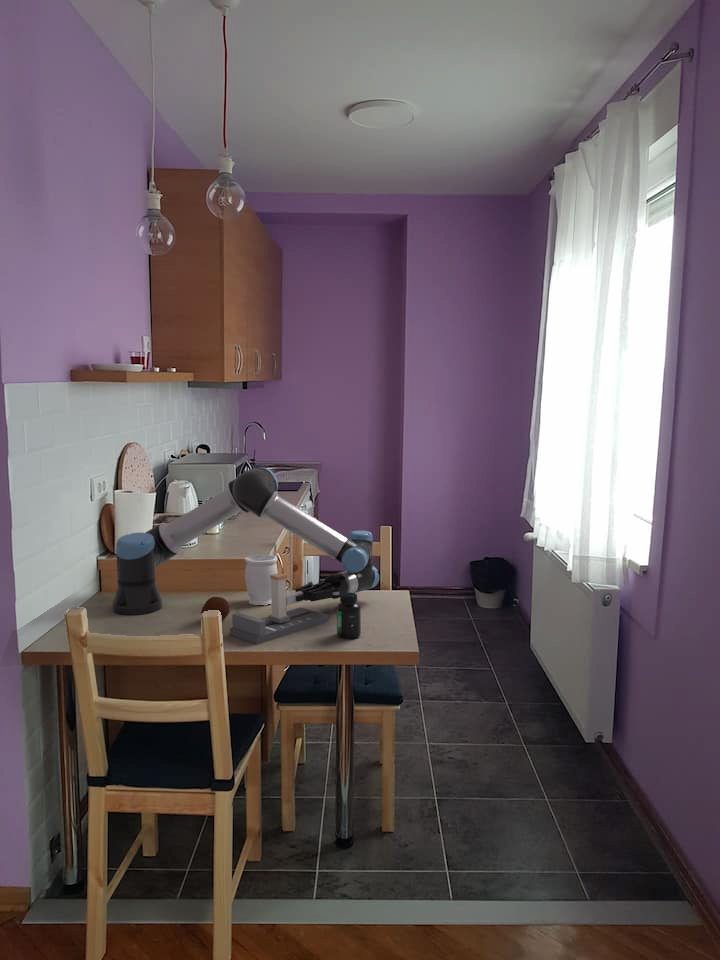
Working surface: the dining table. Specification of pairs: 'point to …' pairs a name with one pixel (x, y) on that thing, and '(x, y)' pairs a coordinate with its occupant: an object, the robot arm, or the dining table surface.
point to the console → (274, 625)
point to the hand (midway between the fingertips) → (285, 600)
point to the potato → (217, 606)
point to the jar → (260, 578)
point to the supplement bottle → (348, 617)
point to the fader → (278, 598)
